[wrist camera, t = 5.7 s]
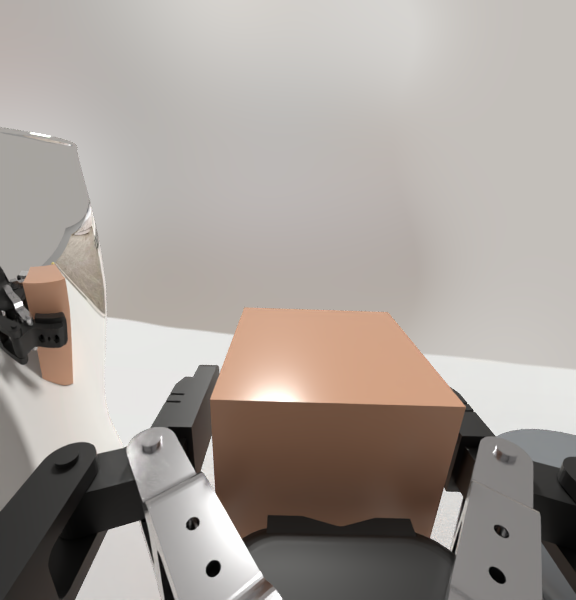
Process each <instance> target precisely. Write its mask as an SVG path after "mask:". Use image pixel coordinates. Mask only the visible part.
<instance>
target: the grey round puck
mask: <svg viewBox="0 0 576 600" xmlns="http://www.w3.org/2000/svg"><path fill="white" fill-rule="evenodd" d="M497 437H499V438H503V439H506V440H508V441H510V442H512V443H514V444H516V445H518V446H519V447H520V448H522V449H523V450H524V451H525V452H526V453H527V454H528V455H529V456H530V457H531V459H532V461H535V462H539V463H542V464H546V465H550V466H554V467H558V468H560V467H561V465H562V463H563V460H564V459H565V458H567V457H576V435H571V434H567V433H562V432H556V431H550V430H540V429H521V430H514V431H509V432H506V433H503V434H501V435H499V436H497ZM541 561H542V598H543V599H544V600H576V594H575V592H574V591H573V589H572V588H571V586H570V585H569V583H568V582H567V580H566V579H565V577H564V576H563V574H562V573H561V571H560V570H559V568H558V567H557V565H556V564H555V562H554V561H553V559H552V558H551V556H550V555H549V553H548V552H547V550H546V549H545V547H544V546H543V544H542V543H541Z"/></svg>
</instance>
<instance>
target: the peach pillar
mask: <svg viewBox="0 0 576 600" xmlns="http://www.w3.org/2000/svg"><path fill="white" fill-rule="evenodd" d="M210 409H211V426H212V443H213V460H214V477H215V493H216V495H217V497H218V499H219V500H220V502H221V504H222V506H223V507H224V509H225V511H226V513H227V514H228V516H229V518H230V520H231V521H232V523H233V525H234V527H235V528H236V530H237V532H238V534H239V535H240V537H241V539H242V538H244V537H245V536H247V535H249V534H251V533H253V532H255V531H258V530H261V529H264V528H267V517H268V515H287V516H305V517H308V518H312V519H315V520H319V521H322V522H326V523H329V524H333V525H336V526H346V525H349V524H353V523H357V522H361V521H365V520H369V519H372V518H405V519H410V520H411V523H412V525H413V528H414V531H415V533H419V534H421V535H424V536H426V537H428V538H430V536H431V532H432V529H433V525H434V521H435V518H436V514H437V510H438V507H439V503H440V500H441V496H442V492H443V489H444V485H445V481H446V478H447V474H448V471H449V467H450V463H451V460H452V456H453V452H454V449H455V445H456V442H457V438H458V434H459V431H460V427H461V423H462V420H463V416H464V412H465V409H466V406H465V405H464V404H463V403H462V401H461V400H460V399H459V398H458V397H457V395H456V394H455V393H454V392H453V391H452V389H451V388H450V387H449V386H448V385H447V383H446V382H445V381H444V380H443V378H442V377H441V376H440V375H439V374H438V372H437V371H436V370H435V369H434V368H433V366H432V365H431V364H430V363H429V361H428V360H427V359H426V358H425V357H424V355H423V354H422V353H421V352H420V351H419V349H418V348H417V347H416V346H415V345H414V343H413V342H412V341H411V340H410V338H409V337H408V336H407V335H406V334H405V332H404V331H403V330H402V329H401V328H400V326H399V325H398V324H397V323H396V322H395V320H394V319H393V318H392V317H391V315H390V314H389V313H388V312H366V311H364V312H363V311H335V310H304V309H274V308H273V309H272V308H244V310H243V313H242V315H241V318H240V320H239V323H238V326H237V328H236V331H235V334H234V337H233V339H232V342H231V345H230V347H229V350H228V353H227V355H226V358H225V361H224V363H223V366H222V369H221V371H220V374H219V377H218V379H217V382H216V385H215V387H214V390H213V393H212V395H211V398H210Z"/></svg>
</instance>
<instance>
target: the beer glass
mask: <svg viewBox="0 0 576 600" xmlns="http://www.w3.org/2000/svg"><path fill="white" fill-rule="evenodd" d="M106 326H107V305H106V282H105V275H104V267H103V259H102V253H101V248H100V243H99V238H98V233H97V229H96V223H95V219H94V216H93V212H92V207H91V204H90V200H89V196H88V192H87V189H86V185H85V181H84V178H83V174H82V170H81V166H80V162H79V158H78V153H77V146H76V144H74V143H73V142H70V141H67V140H64V139H61V138H57V137H52V136H48V135H43V134H38V133H32V132H26V131H21V130H15V129H9V128H2V127H0V511H1V510H2V509H3V508H4V507H5V505H6V504H7V503H8V502H9V501H10V499H11V498H12V497H13V496H14V495H15V493H16V492H17V491H18V490H19V489H20V487H21V486H22V485H23V484H24V483H25V481H26V480H27V479H28V478H29V477H30V475H31V474H32V473H33V472H34V471H35V469H36V468H37V467H38V466H39V465H40V463H41V462H42V461H43V460H44V459H45V458H46V457H47V456H48V455H49V454H51V453H52V452H54V451H55V450H57V449H59V448H61V447H63V446H66V445H68V444H72V443H76V442H87V443H91V444H93V445H94V446H95V448H96V451H97V454H98V453H103V452H108V451H112V450H117V449H121V448H124V446H123V444H122V442H121V439H120V437H119V435H118V433H117V431H116V429H115V427H114V425H113V423H112V420H111V418H110V415H109V412H108V408H107V403H106V395H105V355H106Z"/></svg>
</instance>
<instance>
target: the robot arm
mask: <svg viewBox="0 0 576 600" xmlns="http://www.w3.org/2000/svg"><path fill="white" fill-rule="evenodd" d="M218 377H219V367H218V365H199V367H198V369H197V371H196V372H195V374H194V376H193V377H184V378H183V379H182V380H181V381H179V382H178V383H177V384H176V385H175V386H174V388H173V390H172V392H171V394H170V395H169V397H168V398H167V400H166V402H165V404H164V405H163V407H162V409H161V411H160V412H159V414H158V416H157V417H156V419H155V421H154V423H153V424H152V426H151V428H150V429H147V430H144V431H142V432H140V433H139V434H137V435H136V436H135V437H133V438H132V439H131V441H130V442H129V444H128V446H127V447H124V448H121V449H117V450H112V451H108V452H103V453H98V454H97V451H96V448H95V446H94V445H93V444H91V443H87V442H76V443H72V444H68V445H66V446H63V447H61V448H59V449H57V450H55V451H54V452H52V453H51V454H49V455H48V456H47V457H46V458H45V459H44V460H43V461H42V462H41V463H40V465H39V466H38V467H37V468H36V469H35V471H34V472H33V473H32V474H31V475H30V477H29V478H28V479H27V480H26V481H25V483H24V484H23V485H22V486H21V487H20V489H19V490H18V491H17V492H16V493H15V495H14V496H13V497H12V498H11V499H10V501H9V502H8V503H7V504H6V505H5V507H4V508H3V509H2V510H1V511H0V600H75V598H76V596H77V594H78V592H79V590H80V588H81V586H82V584H83V581H84V579H85V577H86V575H87V573H88V571H89V569H90V567H91V564H92V562H93V560H94V558H95V556H96V554H97V552H98V550H99V548H100V545H101V543H102V541H103V539H104V537H105V535H106V533H107V531H108V530H109V529H112V528H115V527H119V526H122V525H126V524H129V523H132V522H136V521H139V523H140V526H141V529H142V533H143V536H144V539H145V543H146V546H147V549H148V553H149V556H150V559H151V563H152V566H153V569H154V573H155V577H156V580H157V585H158V589H159V593H160V597H161V600H542V561H541V543H542V544H543V546H544V547H545V549H546V550H547V552H548V553H549V555H550V556H551V558H552V559H553V561H554V562H555V564H556V565H557V567H558V568H559V570H560V571H561V573H562V574H563V576H564V577H565V579H566V580H567V582H568V583H569V585H570V586H571V588H572V589H573V591H574V592H575V594H576V457H567V458H565V459H564V460H563V463H562V465H561V467H560V468H558V467H554V466H550V465H546V464H542V463H539V462H535V461H532V459H531V457H530V456H529V455H528V454H527V453H526V452H525V451H524V450H523V449H522V448H520V447H519V446H518V445H516V444H514V443H512V442H510V441H508V440H506V439H503V438H499V437H496V436H495V435H494V434H493V433H492V431H491V430H490V429H489V428H488V427H487V426H486V424H485V423H484V422H483V421H482V420H481V418H480V417H479V416H478V415H477V414H476V413H475V412H474V411H473V409H472V408H471V407H470V405H469V404H467V402H466V401H465V400H464V398H463V397H462V396H461V395H460V394H459V393H458V392H457V391H455V390H454V389H452V388H451V387H450V388H451V389H452V391H453V392H454V393H455V394H456V395H457V397H458V398H459V399H460V400H461V401H462V403H463V404H464V405H465V406H466V409H465V412H464V416H463V420H462V423H461V427H460V431H459V434H458V438H457V442H456V445H455V449H454V452H453V456H452V460H451V463H450V467H449V471H448V474H447V478H446V481H445V485H444V488H445V490H446V491H449V492H461V494H462V496H463V499H462V502H461V506H460V510H459V514H458V518H457V522H456V527H455V531H454V535H453V539H452V543H451V547H450V550H448V549H447V548H446V547H444V546H443V545H441V544H439V543H438V542H436V541H434V540H432V539H430V538H428V537H426V536H424V535H421V534H419V533H415V531H414V528H413V525H412V523H411V520H410V519H405V518H372V519H369V520H365V521H361V522H357V523H353V524H349V525H346V526H336V525H333V524H329V523H326V522H322V521H319V520H315V519H312V518H308V517H305V516H287V515H268V517H267V528H264V529H261V530H258V531H255V532H253V533H251V534H249V535H247V536H245V537H244V538H242V539H241V537H240V535H239V534H238V532H237V530H236V528H235V527H234V525H233V523H232V521H231V520H230V518H229V516H228V514H227V513H226V511H225V509H224V507H223V506H222V504H221V502H220V500H219V499H218V497H217V495H216V493H215V492H214V490H213V488H212V486H211V485H210V483H209V481H208V479H207V478H206V476H205V475H204V473H203V472H200V471H201V468H202V464H203V461H204V458H205V455H206V452H207V448H208V445H209V442H210V439H211V436H212V426H211V409H210V398H211V395H212V393H213V390H214V387H215V385H216V382H217V379H218Z"/></svg>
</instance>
